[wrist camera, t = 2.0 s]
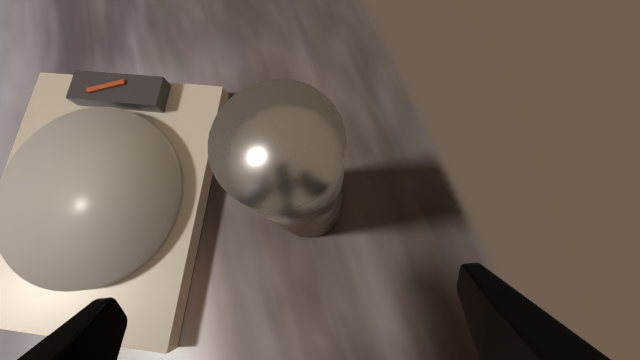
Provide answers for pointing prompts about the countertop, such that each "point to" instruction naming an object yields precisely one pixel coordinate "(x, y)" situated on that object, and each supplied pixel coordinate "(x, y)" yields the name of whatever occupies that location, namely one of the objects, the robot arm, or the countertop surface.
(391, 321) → the countertop surface
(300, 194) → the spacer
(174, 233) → the scale
